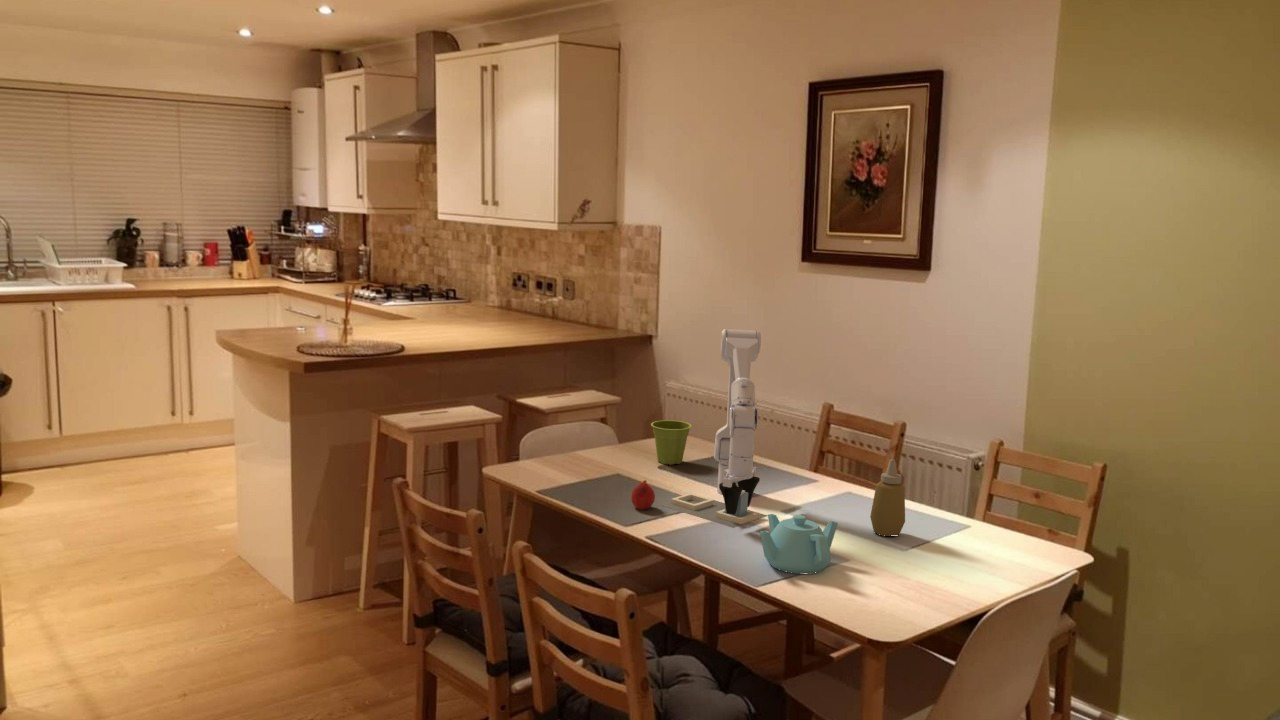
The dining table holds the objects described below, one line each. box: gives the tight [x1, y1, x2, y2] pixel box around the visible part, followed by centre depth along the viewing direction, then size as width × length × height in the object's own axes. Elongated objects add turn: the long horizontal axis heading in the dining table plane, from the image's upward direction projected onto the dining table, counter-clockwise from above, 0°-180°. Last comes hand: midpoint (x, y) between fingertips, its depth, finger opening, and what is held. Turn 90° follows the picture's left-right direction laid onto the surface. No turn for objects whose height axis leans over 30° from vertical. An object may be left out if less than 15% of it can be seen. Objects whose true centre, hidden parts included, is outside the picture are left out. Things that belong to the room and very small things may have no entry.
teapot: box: [759, 513, 839, 574], centre depth 215 cm, size 15×15×11 cm
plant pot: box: [650, 419, 692, 466], centre depth 296 cm, size 12×12×11 cm
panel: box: [662, 492, 768, 529], centre depth 248 cm, size 14×22×2 cm, turn 48°
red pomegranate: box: [630, 479, 656, 511], centre depth 248 cm, size 6×6×8 cm
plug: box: [725, 490, 749, 518], centre depth 243 cm, size 4×4×7 cm
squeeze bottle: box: [870, 458, 906, 537], centre depth 238 cm, size 8×8×18 cm
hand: (737, 509), depth 243 cm, fingers open, 7 cm apart
